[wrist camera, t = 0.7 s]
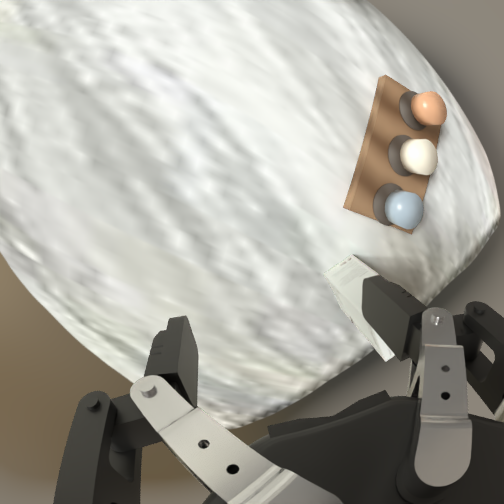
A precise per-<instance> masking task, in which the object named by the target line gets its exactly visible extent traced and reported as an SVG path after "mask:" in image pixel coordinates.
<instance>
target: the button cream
mask: <svg viewBox="0 0 504 504" xmlns="http://www.w3.org/2000/svg"><path fill="white" fill-rule="evenodd" d="M400 158H401V162H402V164H403V166H404V168H405V169H406V170H407V171H408V172H411V173H416V174H422V175H430V174H432V173H433V172H434V170H435V169H436V166H437V162H438V156H437V151H436V148H435V147H434V145H433V144H432V143H431V142H430V141H429V140H427V139H409V140H407V141H405V142H404V143H403V145H402V147H401V151H400Z"/></svg>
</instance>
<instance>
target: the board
mask: <svg viewBox="0 0 504 504" xmlns="http://www.w3.org/2000/svg"><path fill="white" fill-rule="evenodd" d="M416 94H417V93H416V92H413V91H410V90H409V89H407V88H406V87H404V86H403V85H401V84H400V83H398V82H397V81H395V80H393V79H392V78H390V77H389V76H387V75H384V76H382V77H379V79H378V84H377V89H376V93H375V97H374V102H373V106H372V110H371V114H370V118H369V122H368V126H367V129H366V133H365V137H364V141H363V144H362V148H361V151H360V155H359V158H358V162H357V165H356V168H355V172H354V175H353V178H352V182H351V185H350V188H349V191H348V194H347V197H346V200H345V203H344V207H343V208H346V209H348V210H351V211H353V212H356V213H359V214H361V215H364V216H367V217H369V218H372V219H375V220H377V221H379V222H380V223H382V224H384V225H388V226H392V227H395V228H397V229H400V230H402V231H405V232H407V233H410V234H412V232H413V229H414V228H413V229H405V228H402V227H400V226H398V225H395V224H393V223H391V222H390V221H389V220H388V219H387V217H386V214H385V203H386V200H387V198H388V196H389V195H390V194H391V193H392V192H393V191H395V190H403V191H407V192H411V193H415V194H417V195H418V196H419V197H420V198H421V200H422V201H423V198H424V195H425V191H426V188H427V184H428V180H429V177H430V175H422V174H416V173H411V172H408V171H407V170H406V169H405V168H404V166H403V164H402V162H401V158H400V151H401V147H402V145H403V143H404V142H405V141H407V140H409V139H427V140H429V141H430V142H431V143H432V144H433V145H434V147H435V148H436V147H437V143H438V138H439V133H440V127H441V125H422V124H420V123H419V122H418V121H417V120H416V118H415V117H414V115H413V112H412V108H411V101H412V98H413V97H414V95H416Z"/></svg>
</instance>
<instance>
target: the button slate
mask: <svg viewBox="0 0 504 504" xmlns="http://www.w3.org/2000/svg"><path fill="white" fill-rule="evenodd" d="M385 214H386V217H387V219H388V220H389V221H390V222H391V223H393V224H395V225H398V226H400V227H402V228H405V229H413V228H415V227H416V226H417V225H418V224H419V223H420V221H421V219H422V216H423V203H422V200H421V198H420V197H419V196H418V195H417V194H415V193H411V192H407V191H403V190H395V191H393V192H392V193H391V194H390V195H389V196H388V198H387V200H386V203H385Z"/></svg>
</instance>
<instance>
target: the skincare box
mask: <svg viewBox="0 0 504 504" xmlns="http://www.w3.org/2000/svg"><path fill="white" fill-rule="evenodd" d="M323 275H324V277H325V279H326V280H327V282H328V283H329V285H330V287H331V289H332V291H333V293H334V295H335V297H336V299H337V301H338V303H339V306H340V308H341V309H342V311H343V312H344V313H345V314H346V315H347V316H348V318H349V319H350V320H351V321H352V322H353V323H354V325H355V326H356V327H357V328H358V329H359V331H360V332H361V333H362V334H363V335H364V336H365V338H366V339H367V340H368V341H369V342H370V343H371V344H372V345H373V347H374V348H375V349H376V350H377V352H378V353H379V354H380V355H381V357H382V358H383V359H384V360H385V361H387V360H389V359H390V358H392V357H393V356H394V355H395V354H394V353H393V352H392V351H391V349H390V348H389V347H388V346H387V345H386V344H385V342H384V341H383V340H382V339H381V338H380V336H379V335H378V334H377V333H376V332H375V331H374V329H373V328H372V327H371V326H370V325H369V324H368V322H367V321H366V320H365V319H364V317H363V314H362V284H363V280H364V278H368V277H371V276H375V275H379V274H378V273H377V272H376V271H374V270H373V269H371V268H370V267H369V266H367V265H366V264H365V263H363V262H362V261H361V260H359V259H358V258H356V257H355V256H354V255H351V256H349V257H348V258H346V259H345V260H343V261H342V262H340V263H339V264H337V265H336V266H334V267H332V268H331V269H329V270H328V271H326V272H325V273H324V274H323ZM384 279H385V278H384ZM388 282H389V281H388Z"/></svg>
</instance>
